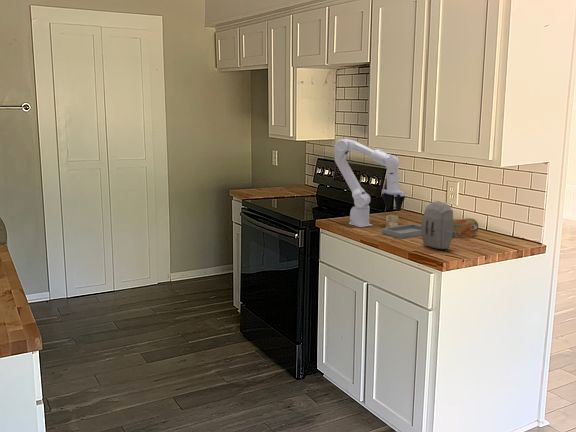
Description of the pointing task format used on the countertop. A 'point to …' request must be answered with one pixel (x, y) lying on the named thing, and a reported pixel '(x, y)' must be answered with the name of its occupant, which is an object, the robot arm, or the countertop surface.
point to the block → (391, 221)
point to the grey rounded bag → (437, 225)
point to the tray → (403, 231)
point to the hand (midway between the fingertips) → (393, 209)
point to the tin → (464, 227)
